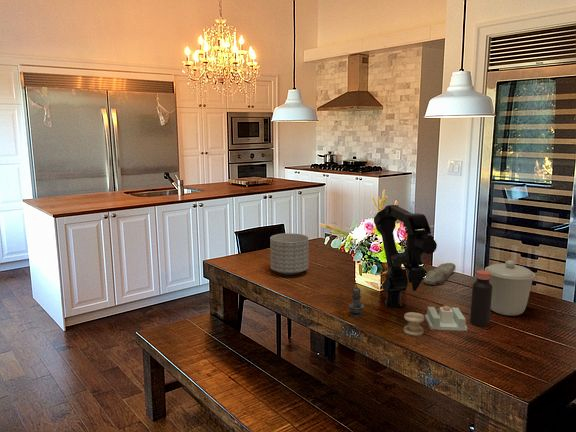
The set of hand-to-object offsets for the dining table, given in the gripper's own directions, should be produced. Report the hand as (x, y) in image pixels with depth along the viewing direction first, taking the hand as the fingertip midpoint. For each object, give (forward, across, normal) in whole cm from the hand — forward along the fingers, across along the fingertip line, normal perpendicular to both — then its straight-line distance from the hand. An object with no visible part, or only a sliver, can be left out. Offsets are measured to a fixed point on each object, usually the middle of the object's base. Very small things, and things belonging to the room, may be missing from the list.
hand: (412, 286), depth 182 cm
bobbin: (+12, +13, -1) cm, 18 cm away
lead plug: (+11, +5, +12) cm, 17 cm away
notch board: (+12, +5, +12) cm, 18 cm away
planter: (+13, -51, -52) cm, 74 cm away
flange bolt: (+13, -1, -21) cm, 25 cm away
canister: (+13, -10, +39) cm, 42 cm away
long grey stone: (+13, -53, +22) cm, 59 cm away
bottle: (+13, +3, +25) cm, 28 cm away
